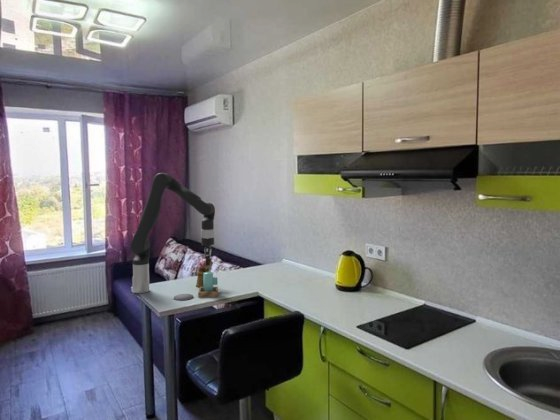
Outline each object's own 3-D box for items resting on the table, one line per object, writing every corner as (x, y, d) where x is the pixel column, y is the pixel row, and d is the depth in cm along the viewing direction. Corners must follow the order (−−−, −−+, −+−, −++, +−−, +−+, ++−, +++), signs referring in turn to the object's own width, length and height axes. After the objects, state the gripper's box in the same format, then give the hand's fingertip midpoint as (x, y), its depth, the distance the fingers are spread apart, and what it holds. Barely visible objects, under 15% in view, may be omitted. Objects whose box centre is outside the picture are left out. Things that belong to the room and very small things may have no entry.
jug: (203, 295, 230) (203, 274, 229) (203, 293, 235) (203, 272, 234) (217, 295, 231) (217, 273, 230) (217, 292, 236) (217, 271, 235)
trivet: (172, 300, 220) (172, 299, 220) (175, 295, 231) (175, 294, 231) (192, 300, 221) (192, 299, 221) (194, 294, 232) (194, 293, 232)
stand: (198, 297, 227) (198, 292, 226) (199, 291, 238) (199, 287, 237) (217, 296, 228) (217, 291, 228) (217, 291, 239) (217, 286, 239)
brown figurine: (204, 290, 241) (204, 261, 240) (193, 285, 251) (193, 258, 250) (216, 287, 247) (216, 259, 246) (205, 283, 257) (205, 256, 256)
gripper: (202, 235, 237) (202, 261, 238) (200, 238, 223) (200, 266, 224) (214, 234, 238) (214, 261, 239) (213, 238, 224) (214, 266, 225)
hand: (208, 263), depth 231 cm, fingers open, 8 cm apart
